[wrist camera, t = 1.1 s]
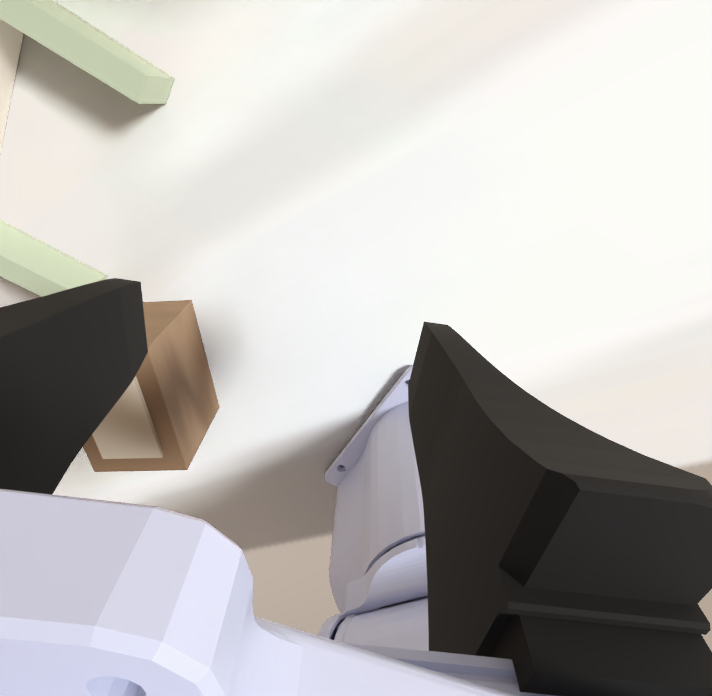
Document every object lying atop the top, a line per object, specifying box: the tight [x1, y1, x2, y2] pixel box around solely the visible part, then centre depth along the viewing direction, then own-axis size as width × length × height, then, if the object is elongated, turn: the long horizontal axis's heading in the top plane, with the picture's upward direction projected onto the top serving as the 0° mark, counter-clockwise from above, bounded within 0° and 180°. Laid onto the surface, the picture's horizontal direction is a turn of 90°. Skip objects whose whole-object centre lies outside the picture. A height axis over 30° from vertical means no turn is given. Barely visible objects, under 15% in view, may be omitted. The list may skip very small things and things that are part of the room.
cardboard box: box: [83, 300, 219, 472], centre depth 22 cm, size 6×4×5 cm
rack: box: [0, 0, 175, 297], centre depth 16 cm, size 24×8×3 cm, turn 149°
